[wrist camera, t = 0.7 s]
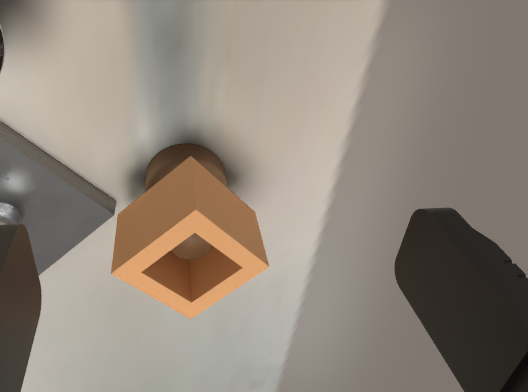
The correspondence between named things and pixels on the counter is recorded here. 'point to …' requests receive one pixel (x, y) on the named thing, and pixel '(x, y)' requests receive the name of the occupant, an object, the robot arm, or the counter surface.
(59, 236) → the gray square plate
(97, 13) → the counter surface
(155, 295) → the orange square tube
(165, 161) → the stand
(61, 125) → the counter surface
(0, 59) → the watch
